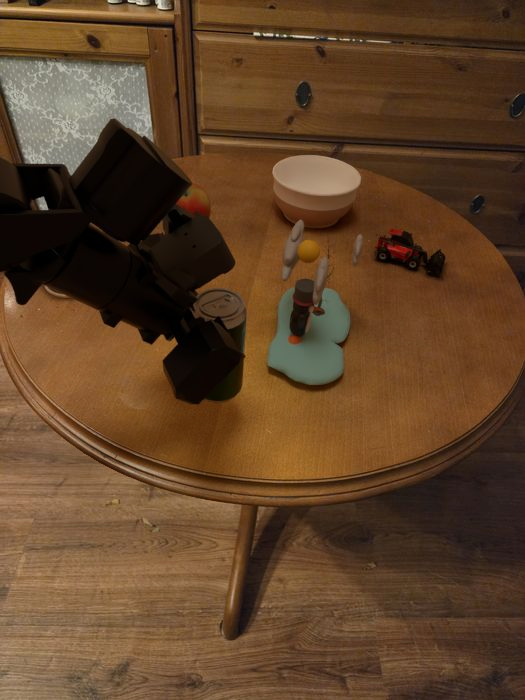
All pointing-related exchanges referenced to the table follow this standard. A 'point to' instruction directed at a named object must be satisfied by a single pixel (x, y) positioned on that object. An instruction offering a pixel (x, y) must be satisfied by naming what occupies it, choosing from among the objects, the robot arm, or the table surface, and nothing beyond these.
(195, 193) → the apple
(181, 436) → the table surface
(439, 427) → the table surface
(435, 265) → the loader
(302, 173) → the bowl
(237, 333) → the beer can
